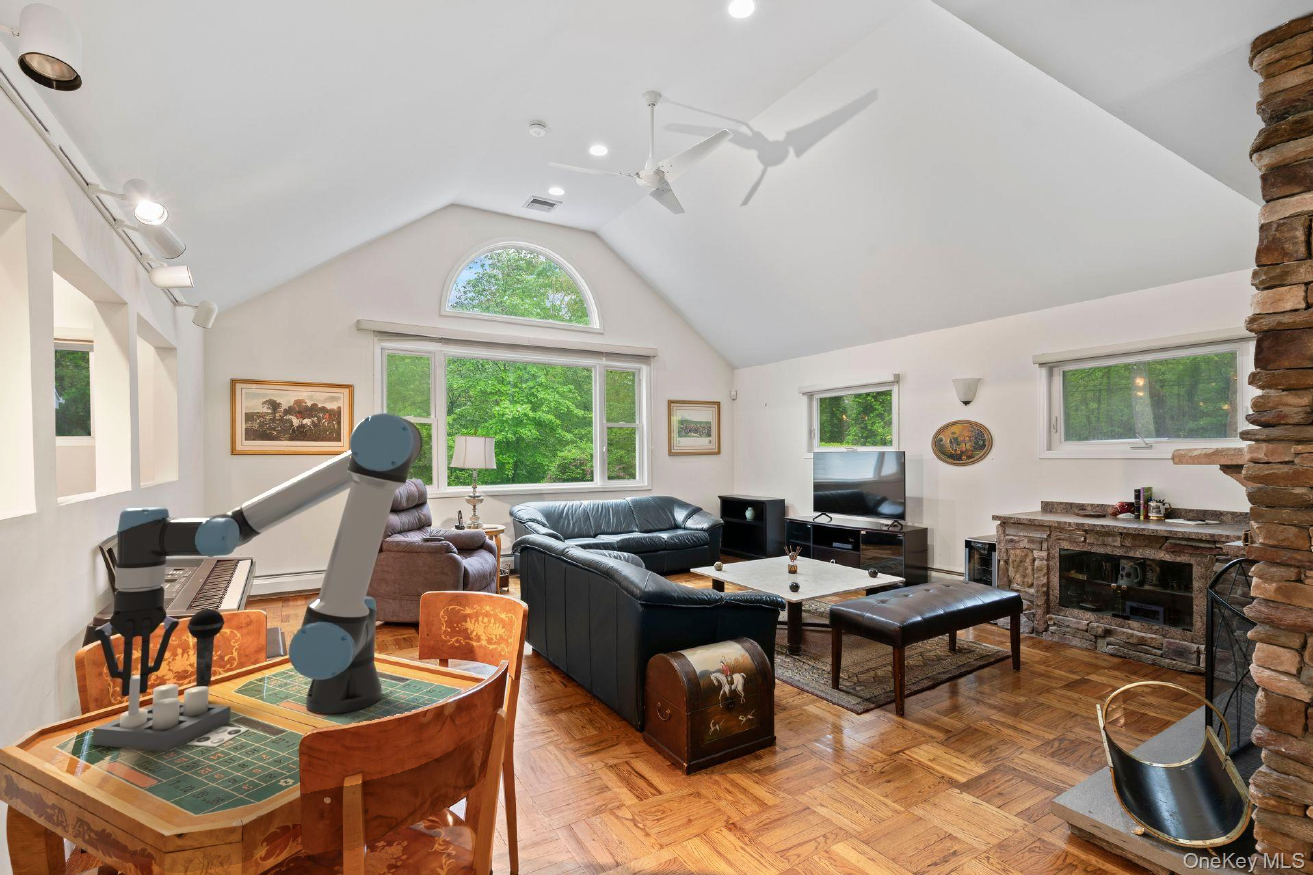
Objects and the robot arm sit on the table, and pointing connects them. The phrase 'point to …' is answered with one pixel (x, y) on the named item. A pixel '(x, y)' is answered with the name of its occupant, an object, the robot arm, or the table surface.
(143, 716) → the button
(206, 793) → the table surface
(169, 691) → the button
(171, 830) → the table surface
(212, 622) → the microphone
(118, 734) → the button board
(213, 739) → the card
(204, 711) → the button
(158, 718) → the button
